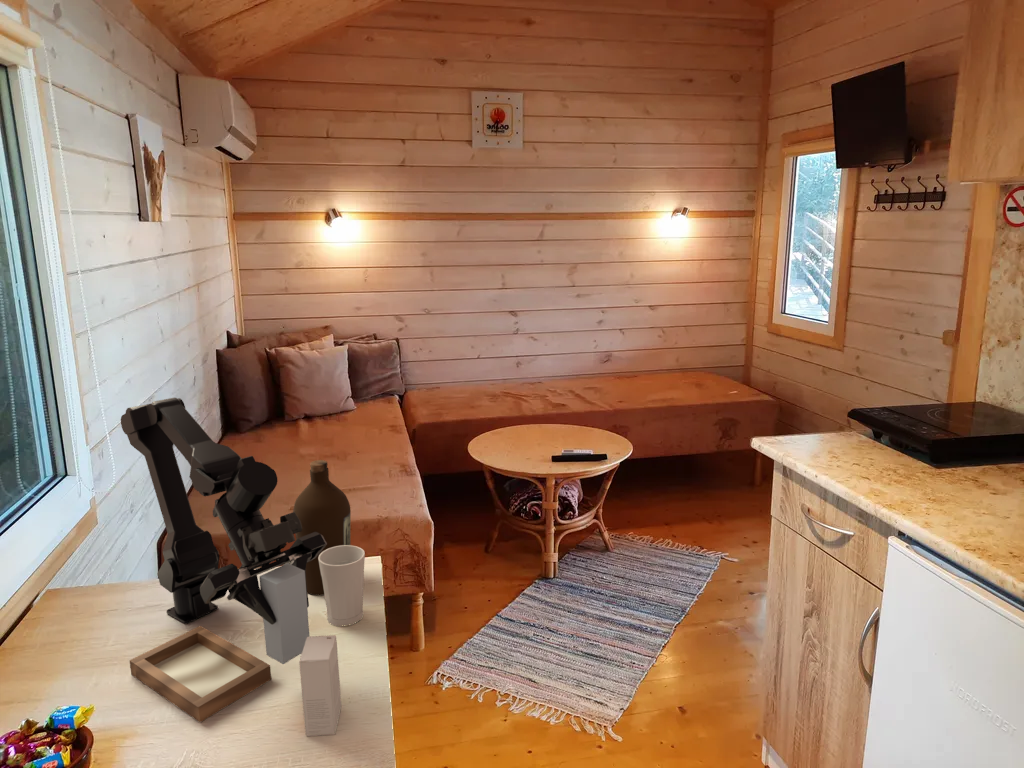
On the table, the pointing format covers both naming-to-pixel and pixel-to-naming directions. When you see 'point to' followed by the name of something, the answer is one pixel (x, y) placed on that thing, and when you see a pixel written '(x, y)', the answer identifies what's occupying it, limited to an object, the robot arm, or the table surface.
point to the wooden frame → (200, 672)
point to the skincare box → (320, 685)
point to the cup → (343, 583)
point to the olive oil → (322, 518)
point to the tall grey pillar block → (285, 612)
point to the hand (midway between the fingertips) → (290, 615)
